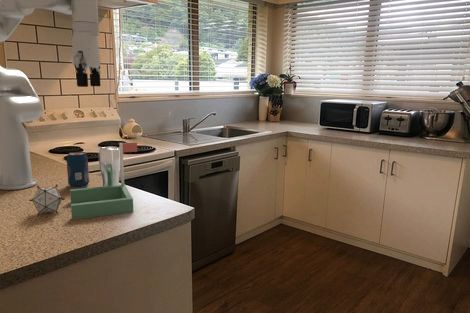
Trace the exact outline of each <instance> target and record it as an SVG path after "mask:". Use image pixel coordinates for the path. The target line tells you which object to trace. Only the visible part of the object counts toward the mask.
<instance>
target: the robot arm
mask: <svg viewBox="0 0 470 313" xmlns="http://www.w3.org/2000/svg"><path fill="white" fill-rule="evenodd" d="M98 8H99V4H98V0H0V43H2V42H5V41H6V40H7V39H9V37H11V35H12V34H13V33H14V31H15V30H16V29H17V28H18V26H19V25H20V24H21V22H22V21H23V20H24V17H25V16H29V15H31V14H33V12H34V11H35V9H36V10H37V9H43V10H48V11H53V12H56V13H60V14H64V15H71V21H72V25H71V26H72V34H73V35H72V64H73V66H74V68H75V71H74V72H75V74H76V75H75V76H76V87H79V88H80V87H81V88H84V87H85V88H87V87H89V84H90V87H101V70H100V69H101V58H100V57H101V54H100V46H99V38H98V37H100V27H99V26H100V25H99V9H98ZM88 69H89V72H90V73H89V76H88V72H87V71H88ZM43 107H44V106H43V104H42V101H41V100H40V96H38V94H37V92H36V90H35V88H34V86H33V85H32V83H31V82H30V80H29V78H28V77H27V76H26V74H25V73H24V72H22V71H21V70H19V69H17V68H12V67H3V66H1V65H0V190H1V191H2V190H4V191H5V190H6V191H12V190H22V189H28V188H31V187H34V186H36V185H37V184H38V179H37V178H34V177H33V173H32V164H31V154H30V153H31V152H30V144H29V135H28V132H27V130H26V128H25V127H24V125H23V124H22V123H26V122H33V121H37V120H39V119H40V118H41V117H42V115H43V114H44V113H43V112H44V108H43Z"/></svg>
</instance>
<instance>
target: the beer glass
mask: <svg viewBox="0 0 470 313" xmlns="http://www.w3.org/2000/svg"><path fill="white" fill-rule="evenodd" d="M98 164H99V171H100V173H101V177H102V178H101V179H102V186H101V187H103V186H114V185H120V173H121V171H120V148H119V147H118V146H104V147H103V146H102V147H99V148H98Z"/></svg>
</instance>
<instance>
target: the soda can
mask: <svg viewBox="0 0 470 313" xmlns="http://www.w3.org/2000/svg"><path fill="white" fill-rule="evenodd" d="M88 159H89V158H88V156H87V153H86V152H85V151H72V152H68V153H67V156H66V172H67V183H68V186H69V187H70V188H72V189H82V188H87V186H88V185H89V182H90V176H89V175H90V174H89V161H88Z"/></svg>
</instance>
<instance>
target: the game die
mask: <svg viewBox="0 0 470 313" xmlns="http://www.w3.org/2000/svg"><path fill="white" fill-rule="evenodd" d="M57 187H58V184H55V186H46V187H45V186H43V187H40V186H39V185H37V186H36V188H37V190H36V192H35V194H34V196H33V198H32V199H29V200H28V201H29V202H32V203H33V205H34V207H35V209H36V210H37V216H40V214H42V213H43V214H44V213H53V212H54V213H56V214H57V215H58V214H59V211H58V210H59V206H60V205H61V203H62V202H63V201H65V198H64V197H62V195H61V193H60V192H59V190H58V188H57Z"/></svg>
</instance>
